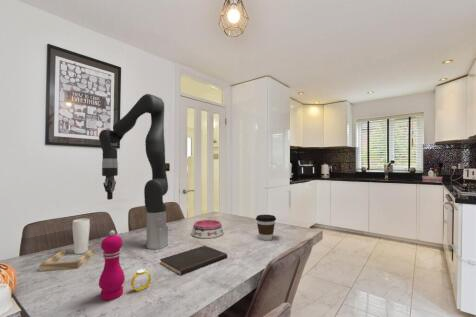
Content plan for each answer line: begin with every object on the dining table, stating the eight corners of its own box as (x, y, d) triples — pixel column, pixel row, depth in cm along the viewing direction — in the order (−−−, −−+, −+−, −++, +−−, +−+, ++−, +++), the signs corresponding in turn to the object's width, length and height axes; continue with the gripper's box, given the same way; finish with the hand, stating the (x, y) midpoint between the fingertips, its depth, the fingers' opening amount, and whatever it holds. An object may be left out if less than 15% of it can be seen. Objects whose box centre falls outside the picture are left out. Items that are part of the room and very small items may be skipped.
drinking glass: (81, 255, 110) (81, 222, 110) (68, 254, 111) (68, 221, 111) (93, 250, 116) (93, 218, 116) (81, 249, 118) (81, 218, 118)
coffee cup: (253, 240, 128) (253, 217, 129) (259, 235, 138) (259, 213, 139) (273, 243, 124) (273, 219, 124) (278, 237, 134) (278, 215, 135)
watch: (133, 294, 77) (132, 275, 77) (130, 291, 79) (129, 272, 79) (152, 286, 81) (151, 269, 81) (149, 283, 83) (148, 266, 83)
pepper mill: (105, 289, 80) (105, 227, 80) (128, 288, 80) (128, 227, 81) (94, 302, 72) (94, 234, 73) (119, 300, 73) (119, 233, 73)
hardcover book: (159, 264, 100) (159, 259, 100) (204, 250, 117) (204, 245, 117) (181, 277, 89) (181, 270, 89) (227, 259, 105) (227, 253, 105)
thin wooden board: (62, 255, 110) (62, 250, 110) (94, 253, 112) (94, 247, 113) (39, 271, 94) (39, 265, 94) (78, 268, 96) (78, 262, 96)
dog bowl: (229, 232, 145) (229, 221, 145) (210, 241, 129) (209, 228, 129) (205, 228, 155) (205, 217, 155) (184, 236, 139) (184, 223, 139)
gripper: (113, 167, 126) (113, 200, 126) (120, 166, 139) (120, 197, 139) (97, 167, 125) (97, 201, 124) (106, 167, 138) (106, 197, 137)
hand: (109, 199), depth 132 cm, fingers closed
